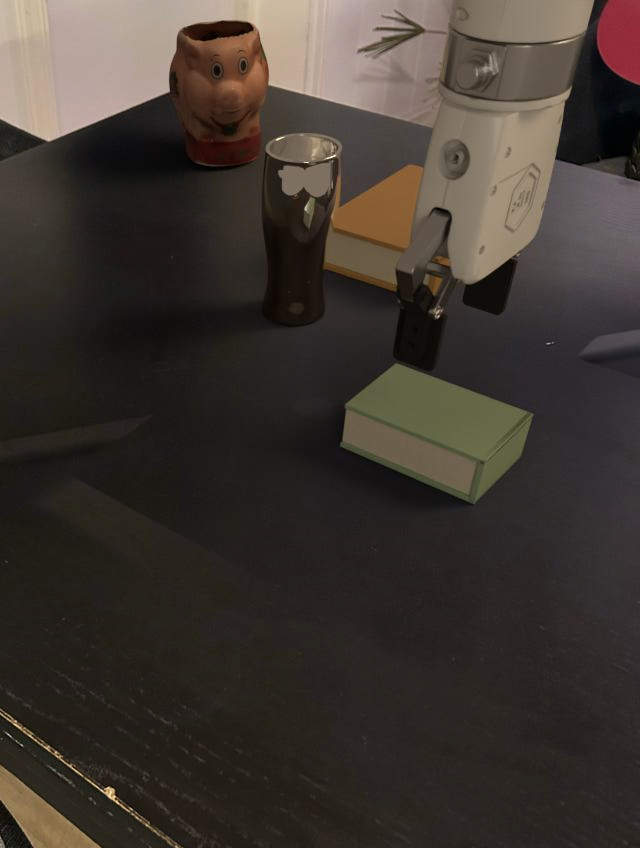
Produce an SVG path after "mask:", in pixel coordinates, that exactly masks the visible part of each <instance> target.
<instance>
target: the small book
mask: <svg viewBox="0 0 640 848" xmlns="http://www.w3.org/2000/svg"><path fill="white" fill-rule="evenodd" d="M344 409H345V416H344V422H343V423H344V424H343V432H342V441H341V442H339V447H340V448H343V449H345V450H347V451H349V452H352V453H355V454H357V455H359V456H361V457H363V458H366V459H368V460H371V461H373V462H375V463H377V464H379V465H382V466H384V467H387V468H389V469H392V470H393V471H396V472H398V473H400V474H403V475H405V476H407V477H410V478H413V479H415V480H416V481H418V482H421V483H423V484H426V485H429V486H430V487H432V488H434V489H437V490H440V491H442V492H444V493H447V494H449V495H451V496H454V497H456V498H458V499H461V500H463V501H466V502H467V503H470V504H471V505H472V504H473V505H475V504H476V503H477V502H478V501H479V500H480V499H481V498H482V497H483V496H484V495H485V494H486V493H487V492H488V491H489V490H490V489H491V488H492V487H493V486H494V485H495V484H496V483H497V482H498V481H499V480H500V478H501V477H502V476H503V475H504V474H505V473H506V472H507V471H508V470H510V468H511V467H512V466H513V465H514V464H515V463H516V462H517V461H518V460H520V458H521V457H522V453H523V450H524V447H525V443H526V440H527V436H528V434H529V430H530V427H531V423H532V420H533V416H534V413H532V412H529V411H527V410H524V409H521V408H519V407H516V406H514V405H511V404H509V403H505V402H503V401H500V400H497V399H494V398H493V397H488V396H486V395H483V394H481V393H478V392H475V391H473V390H470V389H467V388H464V387H461V386H459V385H457V384H453V383H451V382H449V381H446V380H443V379H441V378H438V377H435V376H432V375H429V374H426V373H424V372H421V371H419V370H415V369H413V368H410V367H407V366H405V365H402V364H400V363H394V364H393V365H392V366H390V367H389V368H388V369H387V370H386V371H385V372H383V373H382V374H381V375H379V376H378V377H377V378H376V379H375V380H373V381H372V382H371V383H370V384H368V385H367V386H365V388H363V389H362V390H361V391H359V392H358V393H357V394H356V395H355V396H354V397H352V398H351V399H349V401H347V402H346V403H345V404H344Z"/></svg>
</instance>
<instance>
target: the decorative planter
mask: <svg viewBox="0 0 640 848" xmlns="http://www.w3.org/2000/svg"><path fill="white" fill-rule="evenodd" d="M261 40H262V39H261V35H260V31H259V29H258V27H257V26H256V25H255V24H254V23H253V22H250V21H246V20H242V19H241V20H240V19H223V20H221V19H220V20H214V21H202V22H196V23H192V24H190V25H186V26H183V27H181V28H180V29H179V30H178V32H177V35H176V49H175V53H174V55H173V57H172V59H171V63H170V66H169V72H168V87H169V89H168V90H169V93H170V94H169V95H170V99H171V101H172V103H173V106H174V108H175V110H176V113H177V116H178V120H179V122H180V124H181V128H182V131H183V134H184V138H185V151H186V154H187V156H188V157H189V159H190V160H191V161H192V162H194V163H195V164H198V165H202V166H205V167H230V166H237V165H243V164H246V163H250V162H252V161H254V160H256V159H257V158H258V157H259V154H260V152H261V148H262V142H263V140H262V134H261V124H260V111H261V107H262V106H263V105H264V102H265V100H266V96H267V91H268V88H269V83H270V69H269V63H268V59H267V55H266V53H265V50H264V47H263V45H262V41H261Z"/></svg>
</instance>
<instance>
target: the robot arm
mask: <svg viewBox="0 0 640 848" xmlns="http://www.w3.org/2000/svg"><path fill="white" fill-rule="evenodd" d="M594 3H595V0H451V8H450V14H449V19H448V22H447V23H448V24H447V28H446V29H447V30H446V36H445V42H444V48H443V53H442V59H441V64H440V69H439V70H440V71H439V77H438V82H437V92H438V94H439V95H440V96H441V97H442V99H441V101H440V105H439V107H438V111H437V116H436V118H435V121H434V125H433V129H432V132H431V136H430V139H429V144H428V148H427V152H426V156H425V160H424V165H423V173H422V177H421V182H420V186H419V191H418V196H417V201H416V206H415V211H414V216H413V222H412V228H411V235H410V243H409V246H408V248H407V249H406V250H405V252H404V253H403V255H402V256H401V258H400V259H399V260H398V262H397V265H396V269H395V273H396V279H397V286H396V288H397V290H396V292H395V296H396V298H397V302H396V304H397V308H399V312H398V318H397V324H396V330H395V335H394V342H393V347H392V357H393V359H394V360H396V361H399V362H400V363H404V364H407V365H409V366H413V367H415V368H417V369H419V370H423V371H426V372H432V371H433V370H435V368H437V366H438V365H439V363H438V362H439V359H440V354H441V349H442V344H443V341H444V335H445V329H446V326H447V321H448V314H445V313H443V311H444V309H445V307H446V306H447V304H448V301H449V300H450V298H451V295H452V293H453V291H454V289H455V287H456V285H457V284H458V283H457V281H458V279H461V281H462V283H463V284H465V286H464V291H463V295H462V301H461V302H462V303H463V305H465V306H467V307H470V308H473V309H476V310H479V311H482V312H485V313H488V314H491V315H495V316H500V315H501V314H502V313H504V312H505V311H506V308H507V304H508V300H509V297H510V293H511V288H512V285H513V281H514V277H515V273H516V269H517V266H518V258H519V257H520V255H521V253H522V251H523V249H524V248H525V247H526V246H527V245H529V244H530V243H531V242H532V240H534V238H535V237H536V235H537V234H538V232H539V229H540V225H541V222H542V217H543V213H544V209H545V205H546V201H547V196H548V192H549V188H550V183H551V179H552V174H553V169H554V165H555V160H556V156H557V151H558V147H559V141H560V136H561V132H562V131H561V130H562V124H563V120H564V119H563V118H564V111H565V104H566V101H567V100H568V99H569V97H570V94H571V91H572V88H573V83H574V80H575V75H576V72H577V69H578V64H579V62H580V61H579V60H580V57H581V53H582V49H583V45H584V42H585V38H586V34H587V29H588V26H589V22H590V19H591V15H592V11H593V7H594ZM436 256H440V257H443V258H447V259H449V261H450V266H451V267H450V266H447V265H444V264H441V263H437V262H434V261H431V260H432V259H433V258H435V257H436ZM513 258H514V259H513ZM516 259H517V260H516ZM426 274H429V275H432V276H435V277H438V278H442V281H441V283H440V285H439V287H438V289H437V291H436V293H435V296H434V295H433V293H432V291H431V290H430V288H429V286H428V285H425V284H424V283H423V280H424V279H425V275H426ZM456 283H457V284H456Z"/></svg>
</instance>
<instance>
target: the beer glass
mask: <svg viewBox="0 0 640 848" xmlns="http://www.w3.org/2000/svg"><path fill="white" fill-rule="evenodd" d="M264 154H265V155H264V162H263V163H264V165H263V173H262V180H261V182H262V185H261V202H260V203H261V210H260V212H261V213H260V214H261V225H262V226H261V227H262V233H263V241H264V242H263V243H264V248H265V256H266V264H267V265H266V266H267V282H266V286H265V287H266V288H265V291H264V296H263V302H262V306H261V311H262V314H263V316H264V317H265V318H266V319H268V320H269V321H270V322H272V323H275V324H278V325H281V326H289V327H298V326H305V325H309V324H312V323H315V322H317V321H318V320H319V319H321V318H322V317H323V315H324V314H325V311H326V305H325V304H326V303H325V293H324V275H325V270H326V269H325V264H326V260H327V256H328V252H329V249H330V245H331V241H332V237H333V234H334V230H335V225H336V221H337V216H338V210H339V208H340V203H341V201H340V200H341V189H342V158H343V157H342V156H343V155H342V154H343V145H342V143H341V142H340V140H338V139H336V138H335V137H332V136H331V135H326V134H321V133H312V132H299V133H298V132H297V133H289V134H285V135H284V134H283V135H280V136H278V137H275V138H273V139H272V140H271V139H270V140H269V142H267V144H266V145H265V153H264Z"/></svg>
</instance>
